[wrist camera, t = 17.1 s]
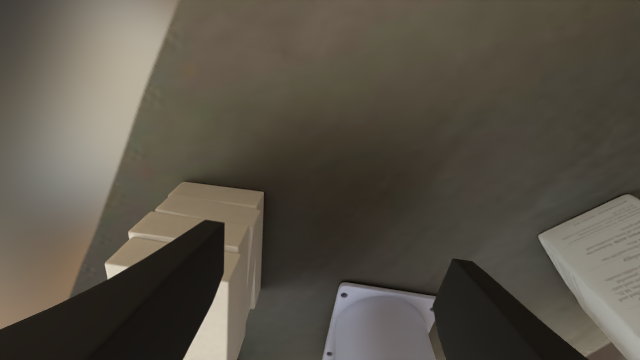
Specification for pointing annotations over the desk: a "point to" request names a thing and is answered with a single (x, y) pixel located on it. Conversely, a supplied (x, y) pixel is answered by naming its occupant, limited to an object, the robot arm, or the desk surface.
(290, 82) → the desk surface
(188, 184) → the white book
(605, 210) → the cosmetic box
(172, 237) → the white book
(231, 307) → the white book
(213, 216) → the white book
